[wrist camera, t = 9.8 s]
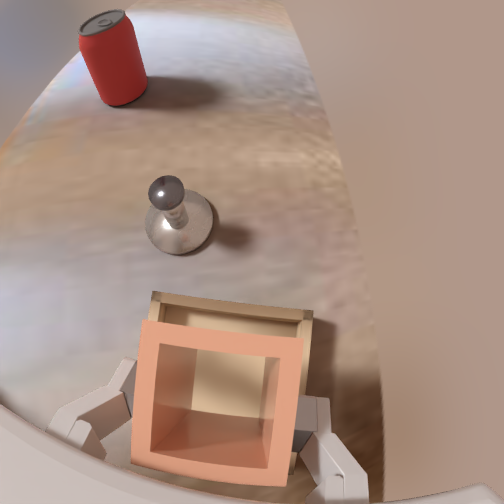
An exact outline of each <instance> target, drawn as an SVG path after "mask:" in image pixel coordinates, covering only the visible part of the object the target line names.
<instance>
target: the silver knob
mask: <svg viewBox="0 0 504 504" xmlns="http://www.w3.org/2000/svg"><path fill="white" fill-rule="evenodd" d="M148 196H149V199H150V201H151V203H152V205H151V206H150V208H149V210H148V212H147V215H146V219H145V228H146V233H147V235H148V237H149V239H150V240H151V242H152V243H153V244H154V245H155V246H156V247H157V248H158V249H159V250H161V251H163V252H165V253H168V254H173V255H180V254H186V253H189V252H192V251H194V250H196V249H197V248H199V247H200V246H201V245H202V244H203V243H204V242H205V241H206V240H207V238H208V237H209V235H210V233H211V230H212V226H213V215H212V210H211V207H210V205H209V203H208V202H207V200H206V199H205V198H204V197H203V196H201V195H200V194H198V193H197V192H194V191H191V190H187V189H184V187H183V184H182V182H181V181H180V180H179V179H178V178H177V177H174V176H162V177H160V178H158V179H156V180H155V181H154V182H153V183H152V184H151V186H150V188H149V192H148Z"/></svg>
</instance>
